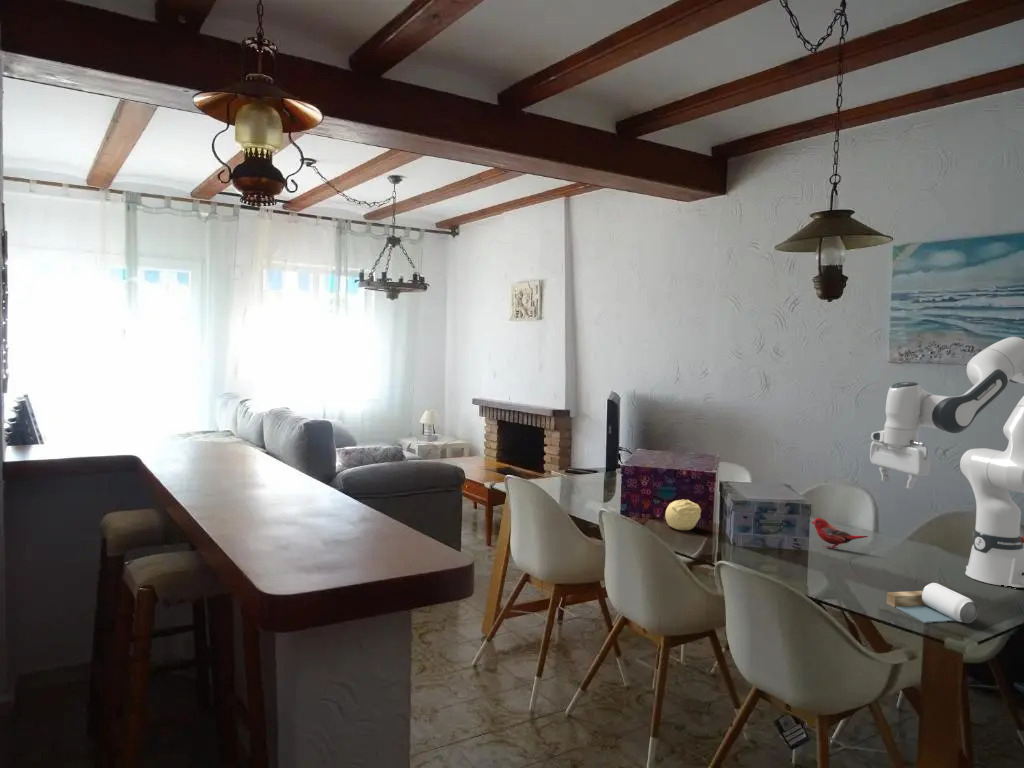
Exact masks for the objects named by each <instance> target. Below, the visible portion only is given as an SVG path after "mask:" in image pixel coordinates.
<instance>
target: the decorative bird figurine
mask: <svg viewBox="0 0 1024 768" xmlns="http://www.w3.org/2000/svg"><path fill="white" fill-rule="evenodd" d="M811 524H813V525H814V528H815V530H816V533H817V535H818V536H819V538H820V539H821V540H823V541H824V542H825V543H827V544H830V545H824V546H825V548H827V547H832V548H831V549H833V548H837V549H838V547H837V546H839V545H843V544H847V543H848V544H849V542H851V541H854V540H857V539H863V538H868V536H867V535H851V534H850V533H848V532H847V531H844V530H842V529H841V528H837V527H835V526H833V525H831V524H829V522H828V521H826V520H825V519H823V518H821V517H816V518H815V519H814V520H813V521H812V522H811Z"/></svg>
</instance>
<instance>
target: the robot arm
mask: <svg viewBox="0 0 1024 768" xmlns="http://www.w3.org/2000/svg"><path fill="white" fill-rule="evenodd" d="M966 374H967V375H966V376H967V378H968V379H969V381H970V382H971V384H972V385H973V386H972V387H971V388H969V389H968V390H967V391H966V392H964V394H962V395H955V396H946V395H940V394H938V395H937V394H933V393H931V392H929V391H927V390H926V389H923V388H922V387H921V386H920V384H919V383H918V382H915V381H907V382H906V381H902V382H896V383H894V384H892V385H890V386H889V389H888V391H887V395H886V402H885V415H886V419H885V420H886V421H885V423H884V426H883V430H878V431H874V432H872V433H871V435H870V438H871V440H872V441H871V443H870V447H869V460H870V463H871V464H872V465H877V466H878V467H879V468H878V470H879V473H880V475H881V482H885V483H890V482H891V476H890V475H889V472H888V470H889V469H892V470H896V471H899V472H903V473H907V477H908V480H907V481H904V488H905V489H908V490H914V488H915V483H916V481H917V480H918V479H919V476H921V477H922V476H923V477H924V476H928V475H929V474H930V472H931V460H930V459H931V458H930V452H929V447H928V446H927V445H926V443H925V442H922V441H919V434H920V433H919V431H920V427H924V428H925V427H926V428H929V429H935V430H936V429H937V430H940V431H942V432H943V431H944V432H947V433H950V434H959V433H961V432H964V431H965V430H967V429H968V428H969V427H970V426H971V425H972V423H973V422H974V421H975V419H976V417H977V416H978V414H980V413H981V412H982V411H983V410H984V409H985V408H987V407H988V405H990V404H991V403H992V402H993V401H994V400H995V399H996V398H997V397H999V395H1000V394H1002V392H1003V391H1004V390H1005V389H1006V387H1007V386H1008V383H1009V382H1011V383H1014V384H1024V338H1021V337H1020V336H1019V337H1018V336H1009V337H1006V338H1004V339H1001V340H999V341H997V342H995V343H993V344H991V345H988V346H987V347H985V348H984V349H982V350H981V351H980V352H978V353H976V354H975V355H974V356H973V357H972V358H971V359H970V360H969V361H968V362H967V365H966ZM919 426H920V427H919ZM1002 432H1003V435H1004V436H1005V438H1006V439H1007V440H1008V444H1007V447H1006V449H1005V450H1004V451H1003V450H998V449H992V448H987V447H985V448H983V447H982V448H981V447H980V448H979V447H978V448H970V449H968V450H967V451H965V452H964V453H963V455H962V456H961V458H960V462H959V467H960V471H961V474H963V475H964V477H965V478H966V479H967V480H968V482H969V484H970V487H971V488H972V492H973V493H974V494H973V495H974V497H975V498H974V499H975V503H976V505H975V506H976V511H975V512H976V514H975V527H974V529H973V532H972V541H973V542H972V543H973V544H972V545H971V550H970V554H969V555H970V556H969V559H968V563H967V565H966V566H965V575H966V576H967V577H969V578H971V579H973V580H976V581H979V582H983V583H986V584H991V585H995V586H1001V585H1004V586H1003V587H1007V586H1012V587H1024V545H1023V544H1024V536H1020V530H1021V518H1022V511H1021V509H1020V507H1019V506H1018V505H1017V503H1016V502H1014V500H1013V499H1012V496H1011V494H1010V492H1009V491H1011V492H1014V493H1023V494H1024V395H1023V396H1022V397H1021V398H1020V400H1019V401H1018V403H1017V404H1016V405H1015V407H1014V408H1013V410H1012V412H1011V414H1010V415H1009V417H1008V418H1007V420H1006V422H1005V424H1004V426H1003V428H1002Z"/></svg>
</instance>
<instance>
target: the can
mask: <svg viewBox="0 0 1024 768" xmlns="http://www.w3.org/2000/svg"><path fill="white" fill-rule="evenodd" d="M921 591H922V600H923V602H924V603H925V604H926V605H927V606H929V607H931V608H933V609H935V610H937V611H939V612H941V613H943V614H945V615H947V616H949V617H951V618H953V619H955V620H957V621H956V622H959V623H965V624H970V623H973V622H974V621H975V620H976V618H977V617H978V613H979V608H978V605H977V604H976V603H975V602H974V601H973V600H972V599H971V598H969V597H967V596H965V595H963V594H962V593H959V592H956V591H954V590H952V589H950V588H948V587H946V586H944V585H942V584H939V583H938V582H931V583H928V584H926V585H925V587H924V588H923V589H922V590H921Z"/></svg>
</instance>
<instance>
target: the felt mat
mask: <svg viewBox="0 0 1024 768" xmlns="http://www.w3.org/2000/svg"><path fill="white" fill-rule="evenodd" d="M895 609H897V610H898V609H899V610H898V611H900V610H901V612H902V613H904V614H907V615H908V616H910V617H912V618H914V619H915V620H917V621H920V622H921V623H923V624H933V622H938V623H948V622H947V621H956V622H958V621H957V620H955V619H953V618H951V617H949V616H947V615H945V614H943V613H941V612H939V611H937V610H935V609H933V608H931V607H929V606H927V605H920V606H899V607H895Z"/></svg>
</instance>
